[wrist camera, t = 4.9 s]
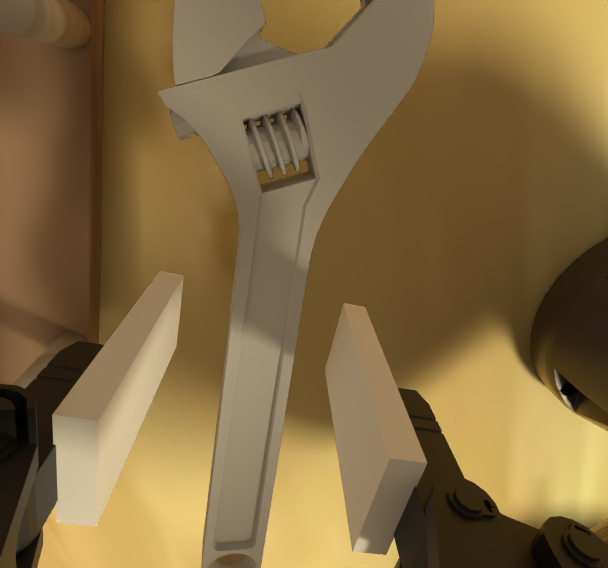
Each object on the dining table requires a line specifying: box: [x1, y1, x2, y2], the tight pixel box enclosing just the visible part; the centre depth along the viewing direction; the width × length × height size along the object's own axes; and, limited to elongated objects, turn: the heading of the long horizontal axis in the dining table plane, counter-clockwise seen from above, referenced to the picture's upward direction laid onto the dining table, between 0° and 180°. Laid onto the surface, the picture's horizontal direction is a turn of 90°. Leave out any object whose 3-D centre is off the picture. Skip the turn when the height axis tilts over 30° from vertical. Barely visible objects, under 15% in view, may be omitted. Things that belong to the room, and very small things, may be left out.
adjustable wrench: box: [157, 0, 434, 568], centre depth 14 cm, size 25×6×2 cm, turn 166°
